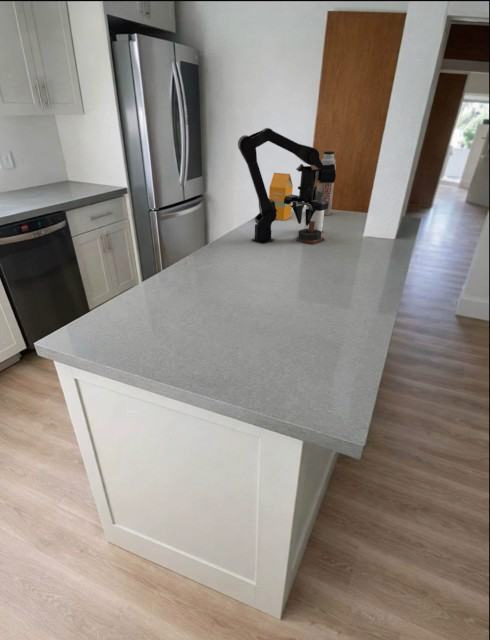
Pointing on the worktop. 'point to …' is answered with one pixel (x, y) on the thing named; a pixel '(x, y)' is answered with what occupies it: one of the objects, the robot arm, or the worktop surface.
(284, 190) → the orange juice
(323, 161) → the thermos bottle
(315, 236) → the rubber ring
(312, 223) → the copper peg on plate
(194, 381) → the worktop surface
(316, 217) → the can
